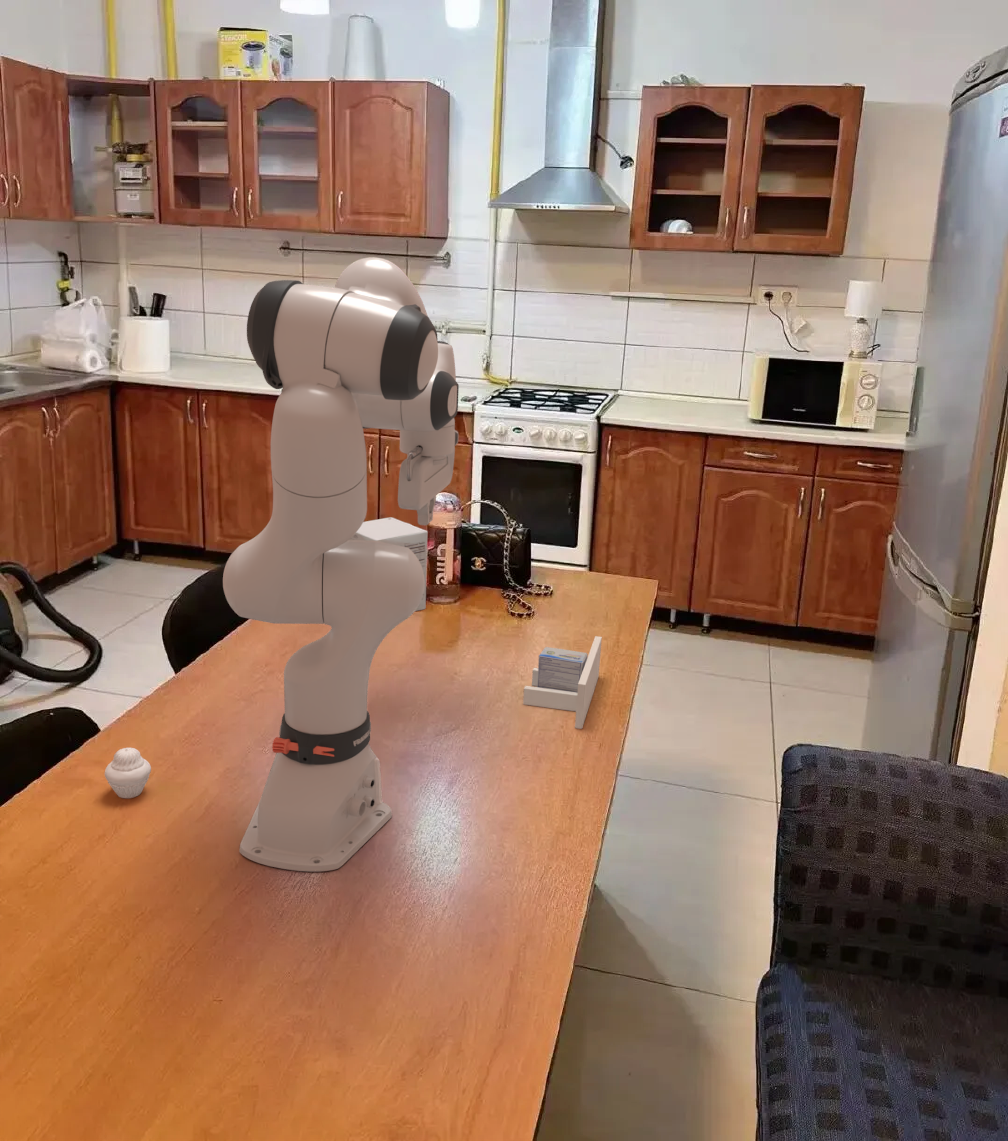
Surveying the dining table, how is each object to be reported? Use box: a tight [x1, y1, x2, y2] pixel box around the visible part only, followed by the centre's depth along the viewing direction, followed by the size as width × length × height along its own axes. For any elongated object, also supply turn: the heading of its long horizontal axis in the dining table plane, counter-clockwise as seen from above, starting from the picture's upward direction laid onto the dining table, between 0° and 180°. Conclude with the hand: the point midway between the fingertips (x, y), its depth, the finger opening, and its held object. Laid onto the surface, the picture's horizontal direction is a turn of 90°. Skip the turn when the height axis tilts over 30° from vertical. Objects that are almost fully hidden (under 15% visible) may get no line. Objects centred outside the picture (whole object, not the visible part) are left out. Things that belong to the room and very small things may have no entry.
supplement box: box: [349, 516, 429, 612], centre depth 222 cm, size 13×13×18 cm
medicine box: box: [536, 646, 589, 693], centre depth 183 cm, size 8×4×9 cm, turn 74°
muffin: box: [104, 747, 152, 799], centre depth 147 cm, size 6×6×7 cm
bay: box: [522, 635, 603, 730], centre depth 184 cm, size 22×11×8 cm, turn 168°
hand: (425, 523), depth 174 cm, fingers closed
